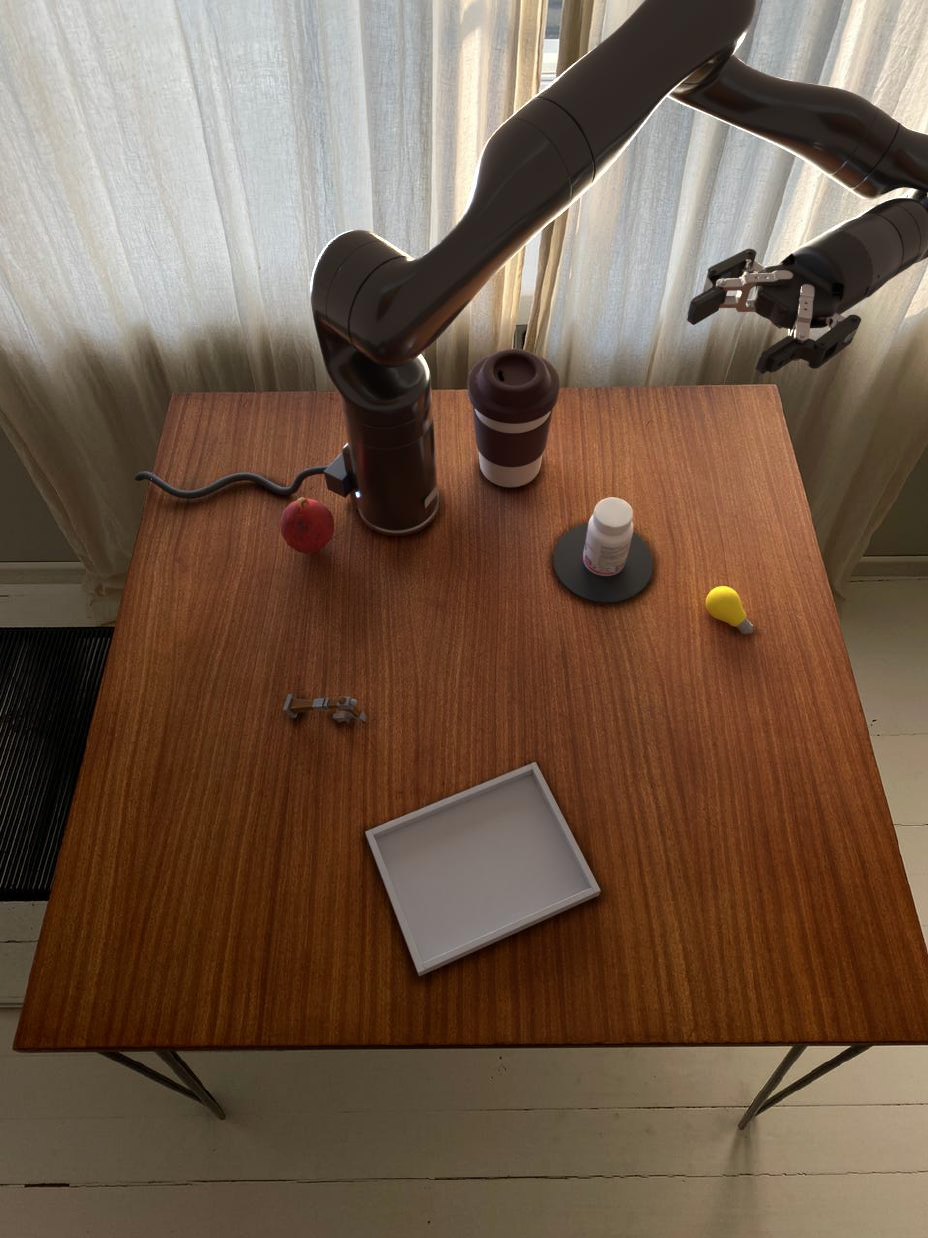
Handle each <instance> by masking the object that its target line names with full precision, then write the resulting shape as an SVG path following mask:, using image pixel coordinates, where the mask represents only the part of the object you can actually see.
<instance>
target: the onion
mask: <svg viewBox="0 0 928 1238" xmlns="http://www.w3.org/2000/svg"><path fill="white" fill-rule="evenodd" d="M334 533H335V521H334V516H333V514H332V512H331V511H330V509H329V508H328V506H326V505H325V504H324V503H322V502H320V501H318V500H317V499H313V498H307V497H304V496H301V497H300V498H299V497H298V498H297V500H294V501H291V502H290V503H289V504H288V506H286V507H285V508H284V510H283V512H282V515H281V517H280V534H281V536H282V537H283V540H284V541H285V543H286V545H287V546H289V547H290V548H291V549H293V550H294V551H295V552H298V553H301V554H306V555H307V554H308V555H309V554H313V553H317V552H319V551H321V550H322V549H324V548H325V547H326V546H327V545H328V544H329V542H331V540H332V538H333V536H334Z"/></svg>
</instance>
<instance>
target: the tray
mask: <svg viewBox="0 0 928 1238" xmlns="http://www.w3.org/2000/svg"><path fill="white" fill-rule="evenodd" d="M364 832H365V836H366V839H367V842H368V845H369V847H370V849H371V853H372V855H373V858H374V860H375V863H376V866H377V868H378V871H379V874H380V876H381V879H382V881H383V884H384V887H385V890H386V892H387V895H388V898H389V900H390V903H391V906H392V908H393V911H394V914H395V916H396V919H397V922H398V925H399V927H400V929H401V932H402V935H403V938H404V940H405V943H406V945H407V948H408V951H409V954H410V956H411V959H412V962H413V964H414V968H415V970H416V972H417V975H418V977H421V976H424V975H425V974H428V973H430V972H432V971H434V970H435V971H436V970H437V969H439V968H442V967H443V966H445V965H448V964H450V963H452V962H454V961H458V960H459V959H461V958H463V957H465V956H468V955H471V954H472V953H474V952H477V951H480V950H481V949H483V948H485V947H487V946H489V945H492V944H495V943H497V942H499V941H502V940H503V939H506V938H508V937H510V936H512V935H514V934H517V933H518V932H521V931H523V930H526V929H527V928H529V927H532V926H534V925H536V924H538V923H541V922H543V921H545V920H547V919H549V918H552V917H554V916H556V915H559V914H561V913H564V912H565V911H567V910H569V909H572V908H574V907H576V906H578V905H580V904H583V903H585V902H587V901H589V900H592V899H594V898H596V897H598V896H600V893H601V892H602V891H601V888H600V886H599V884H598V882H597V881H596V880H597V879H596V878H595V877H594V875H593V871H591V868H590V867H589V865H588V863H587V860H586V858H585V857H584V855H583V853H582V851H581V849H580V846H579V845H578V842H577V840H576V839H575V837H574V835H573V833H572V831H571V829H570V827H569V825H568V823H567V821H566V819H565V817H564V815H563V813H562V811H561V809H560V807H559V806H558V803H557V801H556V800H555V797H554V796H553V794H552V792H551V790H550V787H549V785H548V783H547V781H546V780H545V778H544V776H543V774H542V771H541V770H540V768H539V766H538V764H537V762H536V761H534V762H532V763H530V764H527V765H524V766H521V767H519V768H517V769H515V770H512V771H510V772H507V773H505V774H503V775H499V776H498V777H494V778H493V779H489V780H488V781H485V782H483V783H480V784H478V785H475V786H474V787H471V788H469V789H466V790H464V791H461V792H459V793H456V794H454V795H452V796H449V797H445V798H443V799H441V800H439V801H437V802H434V803H432V804H429V805H427V806H424V807H422V808H419V809H417V810H415V811H412V812H409V813H407V814H405V815H403V816H400V817H398V818H396V819H392V820H390V821H387V822H385V823H383V824H381V825H378V826H376V827H373V828H371V829H368V830H366V831H364Z"/></svg>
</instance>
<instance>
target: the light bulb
mask: <svg viewBox="0 0 928 1238" xmlns="http://www.w3.org/2000/svg"><path fill="white" fill-rule="evenodd" d="M705 608H706V611H707V612H708V614H709V615H710V616H711V617H713V619H716V620H719V621H721V622H724V623H727V624H729V626H731V627H735V628H736V629H738V631H739V632H740V633H742V635H751V634H752V633H753V632H754V624H753V623H752V622H751V621H750V620H749V619H748V617H747V613H746V611H745V610H744V608H743V604H742V600H741V598H740V595H739V593H738V592H737V591H736V590H735V589H733V588H732V587H729V586H726V585H725V586H722V585H721V586H717V587H715V588H713V589H711V590H710V591H709V592H708V594H707V596H706V598H705Z"/></svg>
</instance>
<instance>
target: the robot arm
mask: <svg viewBox="0 0 928 1238" xmlns="http://www.w3.org/2000/svg"><path fill="white" fill-rule="evenodd" d="M756 6H757V0H643V2H642V3H640V5H639V6H638V7H637V8H636V9H635V10H634V12H633V13H631V15H630V16H629V17H628V18H627V19H626V20H625V21H624V22H623V23H621V25H620V26H619V27H618V28H616V30H615V31H614V32H613V33H612V34H610V35H609V36H608V37H606V38H605V39H604V40H602V42H600V43H599V44H597V45H596V46H595V47H594V48H592V49H591V50H590V51H589V52H587V53H586V54H585V55H583V56H582V57H581V58H579V59H578V60H577V61H576V62H575V63H573V64H572V65H571V66H569V67H568V68H567V69H566V70H565V71H563V72H562V73H561V74H560V75H559V76H558V77H557V78H555V79H554V80H552V82H551V83H550V84H548V85H547V86H545V88H544V89H542V90H541V91H539V93H537V94H536V95H534V96H533V97H532V98H531V99H530V100H528V101H527V102H526V103H525V104H524V105H523V106H522V107H520V108H519V109H518V110H517V111H516V112H515V113H513V114H512V115H511V116H510V117H509V118H508V119H506V120H505V121H504V122H503V123H502V124H501V125H500V126H498V128H497V129H496V130H495V131H494V132H493V133H492V135H491V136H490V137H489V138H488V140H487V142H486V143H485V145H484V147H483V148H482V151H481V154H480V156H479V159H478V162H477V165H476V168H475V172H474V175H473V180H472V184H471V188H470V191H469V196H468V199H467V203H466V206H465V209H464V211H463V214H462V215H461V217H460V218H459V220H458V221H457V223H456V224H455V226H454V227H453V228H451V230H450V231H449V232H448V233H447V234H446V235H445V236H444V237H443V238H442V239H441V240H440V241H439V242H438V243H436V244H435V245H434V246H433V247H432V248H431V249H430V250H428V251H427V252H426V253H424V254H423V255H422V256H420V257H418V258H413V257H412V256H410V255H409V254H407V253H406V252H405V251H403V250H401V249H400V248H399V247H397V246H395V245H394V244H392V243H391V242H389V241H388V240H386V239H385V238H383V237H381V236H380V235H378V234H376V233H375V232H372V231H369V230H365V229H352V230H348V231H345V232H342V233H340V234H338V235H336V236H335V237H334V238H333V239H331V240H330V241H329V242H328V243H327V244H326V246H325V247H324V248H323V249H322V251H321V253H320V254H319V255H318V257H317V260H316V262H315V264H314V268H313V271H312V275H311V280H310V291H309V294H310V295H309V296H310V307H311V308H310V309H311V315H312V320H313V325H314V328H315V332H316V333H315V334H316V336H317V341H318V345H319V348H320V353H321V357H322V361H323V364H324V368H325V372H326V374H327V376H328V378H329V381H330V382H331V384H332V385H333V387H334V389H335V390H336V392H337V394H338V397H339V402H340V408H341V414H342V419H343V424H344V430H345V436H346V442H347V443H346V444H345V445H344V446H343V447H342V450H341V452H340V454H339V455H337V457H336V458H335V459H334V460H333V461H332V462H331V463H330V464H329V465H318V466H312V467H308V468H306V469H303V470H301V471H300V472H298V474H297V475H296V476H295V478H294V480H293V482H292V484H291V485H290V486H286V487H284V486H280V485H278V484H276V483H273V482H272V481H270V480H269V479H268V478H265V477H264V476H261V475H260V474H256V473H252V472H237V473H232V474H229V475H227V476H224V477H222V478H220V479H218V480H216V481H214V482H213V483H211V484H208V485H206V486H203V487H202V488H198V489H195V490H194V489H193V490H184V489H183V490H182V489H179V488H176V487H174V486H172V485H170V484H169V483H167V482H166V481H164V480H163V479H162V478H160V477H159V476H157V475H156V474H154V473H153V472H151V471H145V470H144V471H140V472H138V473H137V474H135V475H134V481H137V482H141V481H143V480H147V481H150V482H151V483H153V484H154V485H155V486H157V487H158V488H159V489H161V490H163V491H164V492H165V493H167V494H169V495H171V496H173V497H175V498H179V499H185V500H195V499H199V498H203V497H205V496H208V495H210V494H212V493H214V492H216V491H218V490H220V489H222V488H224V487H226V486H228V485H230V484H234V483H236V482H241V481H243V482H244V481H249V482H253V483H255V484H256V483H257V484H258V485H260V486H261V487H264V488H266V489H267V490H269V491H271V492H272V493H275V494H276V495H280V496H290V495H293V494H296V493H297V492H298V491H299V490H300V488H301V486H302V484H303V482H304V481H305V479H307V478H309V477H312V476H316V475H317V476H318V475H324V480H325V483H326V484H325V485H326V488H327V490H328V491H330V492H332V493H334V494H336V495H338V496H341V497H342V498H345V499H346V498H347V497H348V496H349V497H350V503H351V506H352V508H354V509H355V510H357V511H358V513H359V517H360V519H361V520H362V522H363V524H365V525H366V527H368V528H369V529H371V530H372V531H374V532H375V533H377V534H380V535H384V536H389V537H405V536H410V535H414V534H416V533H419V532H420V531H423V530H424V529H425V528H427V527H428V526H430V525H431V523H432V522H433V521H434V519H435V518H436V516H437V515H438V512H439V509H440V496H439V484H438V473H437V456H436V442H435V441H436V439H435V424H434V410H433V409H434V408H433V407H434V406H433V394H432V393H433V392H432V391H433V389H432V375H431V371H430V368H429V365H428V363H427V361H426V359H425V358H424V356H423V355H422V354H423V353H425V352H426V351H427V350H428V349H429V348H430V347H431V346H432V345H433V344H434V343H436V342H437V340H438V339H439V338H440V337H441V336H442V335H443V334H444V333H445V332H446V330H448V328H449V327H450V326H451V325H452V324H453V322H455V320H457V318H458V317H459V316H460V315H461V314H462V313H463V312H464V310H465V309H466V308H467V307H468V305H470V304H471V302H472V301H473V300H474V299H475V298H476V297H477V296H478V295H479V293H480V292H481V291H482V290H483V289H484V288H485V286H487V284H488V283H489V282H490V281H491V280H492V279H493V277H495V276H496V275H497V274H498V273H499V272H500V271H501V270H502V269H503V268H504V267H505V266H506V265H507V264H508V263H509V262H510V261H511V260H512V259H513V258H514V257H515V256H516V255H517V254H518V253H519V252H520V251H521V250H522V249H524V247H526V246H527V244H529V243H530V241H531V240H533V239H534V238H535V237H536V236H537V235H538V234H540V232H541V231H542V230H543V229H544V228H545V227H546V226H548V225H549V224H551V222H553V221H554V220H555V219H556V218H558V217H559V216H560V215H562V214H563V212H565V211H566V210H567V209H568V208H569V207H570V206H571V205H572V204H574V202H576V201H577V200H578V199H579V198H580V197H581V196H582V195H583V194H584V193H585V192H586V191H588V190H589V189H590V188H591V187H592V186H593V185H594V184H595V183H596V182H597V180H599V179H600V177H601V176H603V174H604V173H605V172H606V171H607V170H608V169H609V168H610V167H611V165H612V164H613V163H614V162H615V161H616V160H617V159H618V157H619V156H620V155H621V154H622V153H623V151H625V149H626V147H627V146H629V144H630V143H631V141H632V140H633V139H634V138H635V136H636V135H637V134H638V133H639V131H640V130H641V128H643V126H644V125H645V123H646V122H648V119H649V118H650V117H651V115H652V114H653V113H654V111H655V110H656V109H658V107H659V105H661V103H662V102H663V101H664V100H665V99H666V98H669V99H671V100H673V101H675V102H677V103H679V104H682V105H683V106H685V107H688V108H691V109H693V110H695V111H697V112H701V113H703V114H705V115H708V116H710V117H712V118H715V119H717V120H719V121H721V122H723V123H726V124H728V125H731V126H733V127H735V128H737V129H739V130H742V131H744V132H747V133H749V134H751V135H753V136H755V137H758V138H760V139H762V140H765V141H767V142H768V143H771V144H774V145H776V146H777V147H780V148H781V149H783V150H785V151H787V152H789V153H791V154H792V155H795V156H796V157H798V158H800V159H802V161H805V162H806V163H807V164H810V165H811V166H812V167H814V168H815V169H817V170H818V171H820V172H821V173H823V174H824V175H826V176H827V177H829V178H830V179H832V180H833V181H835V182H836V183H838V184H839V185H840V186H842V187H844V188H845V189H847V190H848V191H850V192H851V193H853V194H854V195H856V196H857V197H859V198H861V199H864V200H867V201H868V200H869V201H871V200H872V201H873V200H876V199H878V198H880V197H883V196H885V195H887V194H889V193H890V192H893V191H896V190H898V189H904V188H905V189H909V190H907V191H905V193H904V194H903V195H901V196H897V197H893V198H890V199H887V200H886V199H885V200H884V201H882V202H880V203H878V204H876V205H874V206H872V207H870V208H869V209H867V210H865V211H864V212H862V213H860V214H858V215H856V216H854V217H853V218H850V219H848V220H845V221H841V223H838V224H836V225H835V226H833V227H832V228H830V229H828V230H827V231H824V232H823V233H821V234H819V235H818V236H816V237H814V238H813V239H811V240H809V241H808V242H806V243H804V244H802V245H801V246H799V247H797V248H796V249H794V250H792V252H790V253H789V254H788V255H786V256H785V258H784V259H783V260H781V261H780V262H779V263H777V264H771V265H766V266H765V265H763V264H761V263H760V262H759V261H757V260H756V257H757V253H758V252H757V251H756V250H755V249H753V248H746V249H744V250H741V251H740V252H738V253H735V254H734V255H731V256H730V257H728V258H725V259H724V260H722V261H719V262H717V263H715V264H714V265H711V266H709V267H708V268H707V271H706V275H705V279H704V282H703V287H702V289H701V293H699V294H698V295H696V296H694V297H693V298H692V299H691V300H690V303H689V307H688V311H687V317H686V321H687V322H688V323H689V324H691V325H693V326H695V325H697V324H699V323H700V322H702V321H704V320H706V319H707V318H709V317H711V315H714V314H715V313H718V312H719V311H720V309H735V310H736V312H738V313H755V314H757V315H759V316H760V317H762V318H764V319H767V320H769V322H771V323H772V325H773V326H775V327H776V328H778V329H779V330H781V329H787V330H788V331H787V335H786V336H785V337H783V338H782V339H780V340H778V341H777V342H776V343H774V344H772V345H771V346H769V347H767V348H766V349H765V350H763V351H762V353H761V354H760V355H759V358H758V361H757V363H756V366H755V371H757V373H760V374H761V375H764V374H766V373H767V372H768V373H770V374H771V373H775V372H777V371H779V370H780V369H782V368H783V367H785V366H786V365H788V364H789V363H791V362H798V361H800V360H802V361H805V362H806V364H807V366H808V367H809V368H810V369H814V370H815V369H820V368H821V367H822V366H823V365H825V364H826V363H827V362H828V361H830V360H831V359H832V358H834V357H835V356H836V355H837V354H839V353H841V352H842V351H843V350H845V348H847V347H848V346H849V345H850V344H851V343H853V340H854V338H855V335H856V333H857V332H858V329H859V327H860V325H861V322H862V318H861V317H860V316H859V315H858V314H849V315H848V316H847V317H844V316H843V315H842V314H844V313H846V312H847V311H848V310H850V309H851V308H853V307H855V306H857V305H858V304H859V303H861V302H862V301H864V300H866V299H867V298H870V297H871V296H872V295H874V294H875V293H876V292H878V291H879V290H880V289H881V288H882V287H883V286H884V285H886V283H888V282H889V281H890V280H892V279H894V278H895V277H897V276H898V275H900V274H901V273H903V272H905V271H906V270H907V269H909V268H911V267H912V266H913V265H915V264H917V263H920V262H922V261H925V260H926V259H928V133H926V132H925V133H924V132H921V131H917V130H914V129H912V128H911V129H910V128H908V127H907V126H905V125H904V124H902V123H901V122H900V121H899V120H897V119H896V118H894V117H893V116H891V115H890V114H889V113H887V112H885V111H884V110H882V109H881V108H879V107H878V106H877V105H875V104H874V103H872V102H871V101H869V100H868V99H866V98H865V97H862V96H861V95H858V94H856V93H854V92H852V91H849V90H846V89H843V88H839V87H835V86H832V85H831V86H830V85H825V84H824V85H823V84H817V83H811V82H804V81H803V82H802V81H797V80H790V79H785V78H781V77H777V76H775V75H772V74H771V75H770V74H767V73H765V72H763V71H760V70H758V69H756V68H753V67H752V66H751V65H749V64H747V63H745V62H744V61H742V60H741V59H740V58H739V57H737V56H736V55H735V53H736V51H737V49H738V48H740V46H741V44H742V43H743V41H744V39H745V37H746V36H747V34H748V32H749V31H750V27H751V26H752V23H753V19H754V16H755V12H756ZM754 287H755V290H754V295H753V298H751V299H748V298H749V295H750V292H751V290H752V289H753V288H754ZM736 291H737V292H736ZM728 292H736V294H734V295H728ZM826 327H828V331H826V332H825V333H823V334H822V335H821V336H819V337H818V338H817V339H816V340H815V339H812V338H810V330H811V329H823V328H826ZM152 473H153V475H152ZM151 478H152V480H151Z"/></svg>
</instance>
